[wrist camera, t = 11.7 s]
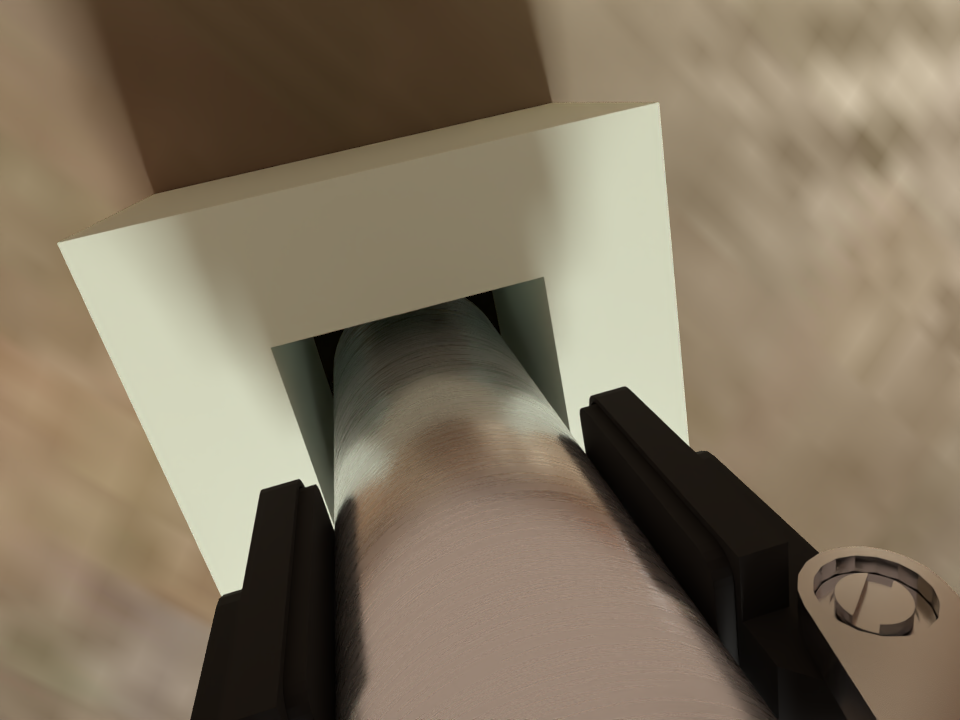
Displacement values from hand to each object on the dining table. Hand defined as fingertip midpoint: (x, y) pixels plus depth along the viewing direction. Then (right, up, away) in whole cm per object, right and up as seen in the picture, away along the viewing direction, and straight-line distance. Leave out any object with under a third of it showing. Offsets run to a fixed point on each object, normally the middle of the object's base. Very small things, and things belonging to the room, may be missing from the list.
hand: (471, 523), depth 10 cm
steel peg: (-1, +2, +6) cm, 6 cm away
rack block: (-2, +3, +8) cm, 9 cm away
